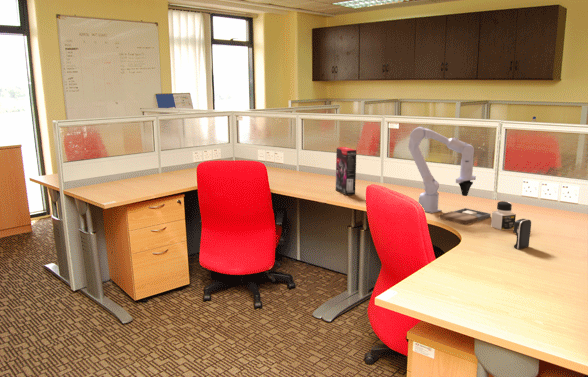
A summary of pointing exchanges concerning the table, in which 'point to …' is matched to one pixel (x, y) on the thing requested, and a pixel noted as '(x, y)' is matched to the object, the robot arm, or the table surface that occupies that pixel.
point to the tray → (479, 214)
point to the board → (459, 218)
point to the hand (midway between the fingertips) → (464, 195)
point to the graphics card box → (345, 170)
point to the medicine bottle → (503, 216)
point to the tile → (470, 213)
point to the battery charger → (522, 233)
